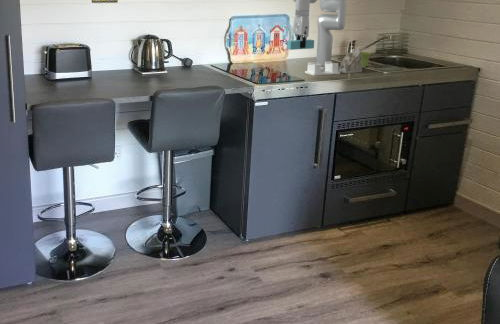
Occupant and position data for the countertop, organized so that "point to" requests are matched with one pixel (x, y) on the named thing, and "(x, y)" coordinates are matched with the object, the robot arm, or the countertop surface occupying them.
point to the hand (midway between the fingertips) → (300, 46)
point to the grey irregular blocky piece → (352, 62)
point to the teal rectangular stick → (296, 44)
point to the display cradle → (322, 69)
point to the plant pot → (365, 58)
